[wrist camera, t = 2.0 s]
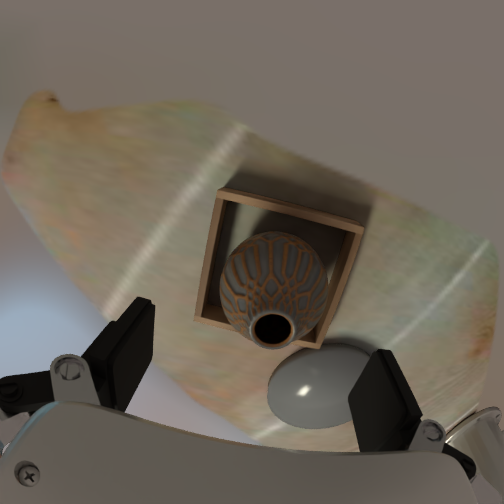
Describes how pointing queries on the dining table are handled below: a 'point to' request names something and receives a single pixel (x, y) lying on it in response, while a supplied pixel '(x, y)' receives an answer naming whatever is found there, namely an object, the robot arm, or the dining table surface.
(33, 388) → the robot arm
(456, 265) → the dining table surface
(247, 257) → the vase
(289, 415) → the plate
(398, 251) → the dining table surface
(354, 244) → the holder
